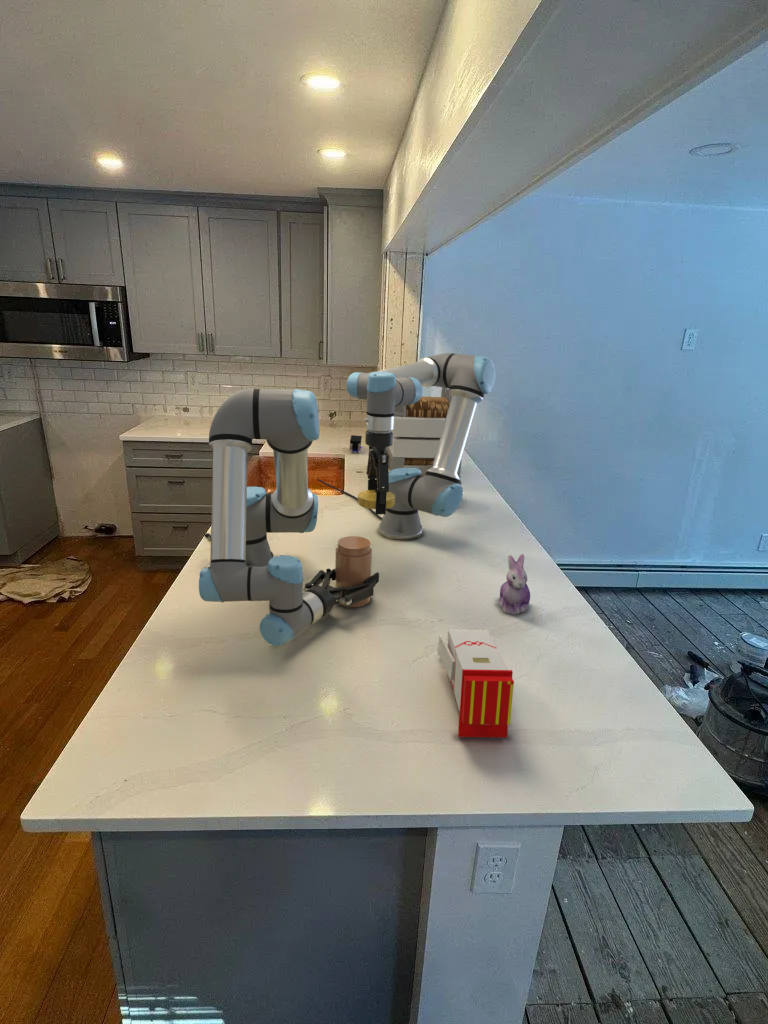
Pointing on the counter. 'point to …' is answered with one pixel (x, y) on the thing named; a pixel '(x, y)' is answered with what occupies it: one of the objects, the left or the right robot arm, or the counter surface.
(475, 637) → the toy
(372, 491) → the lid
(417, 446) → the white wooden crate
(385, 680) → the counter surface
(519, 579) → the figurine
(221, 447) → the left robot arm
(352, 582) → the jar
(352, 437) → the figurine character
